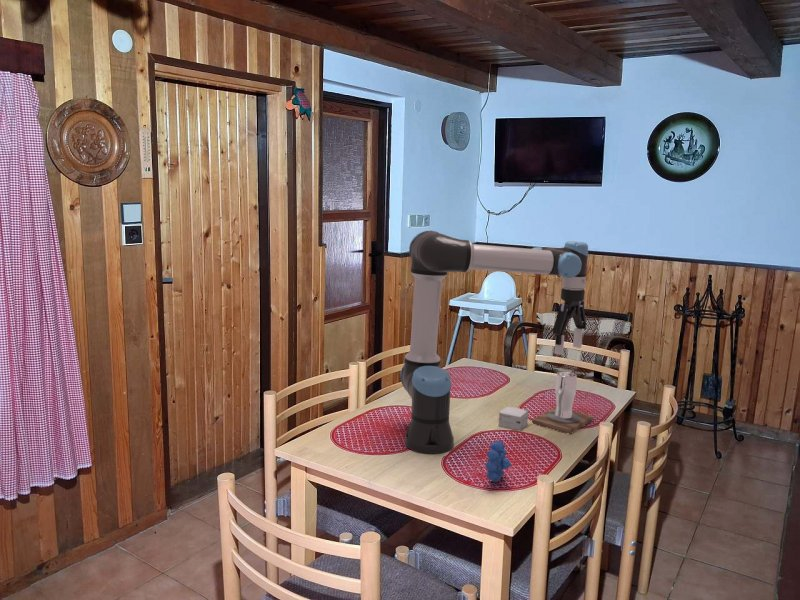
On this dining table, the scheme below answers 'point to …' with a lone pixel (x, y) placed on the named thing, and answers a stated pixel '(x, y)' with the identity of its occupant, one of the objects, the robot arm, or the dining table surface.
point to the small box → (513, 418)
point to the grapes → (496, 461)
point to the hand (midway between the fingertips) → (568, 350)
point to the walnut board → (562, 421)
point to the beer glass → (565, 394)
